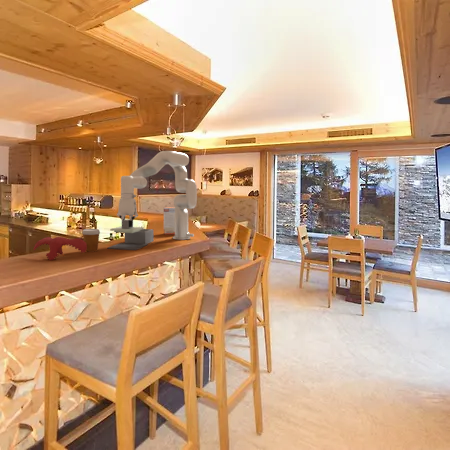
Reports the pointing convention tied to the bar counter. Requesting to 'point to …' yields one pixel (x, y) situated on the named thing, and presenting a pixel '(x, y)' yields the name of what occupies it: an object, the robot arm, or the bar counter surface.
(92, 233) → the disposable coffee cup
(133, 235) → the box
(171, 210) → the cracker box
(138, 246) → the mat
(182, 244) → the bar counter surface
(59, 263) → the bar counter surface
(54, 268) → the bar counter surface
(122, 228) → the lid
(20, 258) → the bar counter surface
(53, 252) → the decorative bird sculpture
